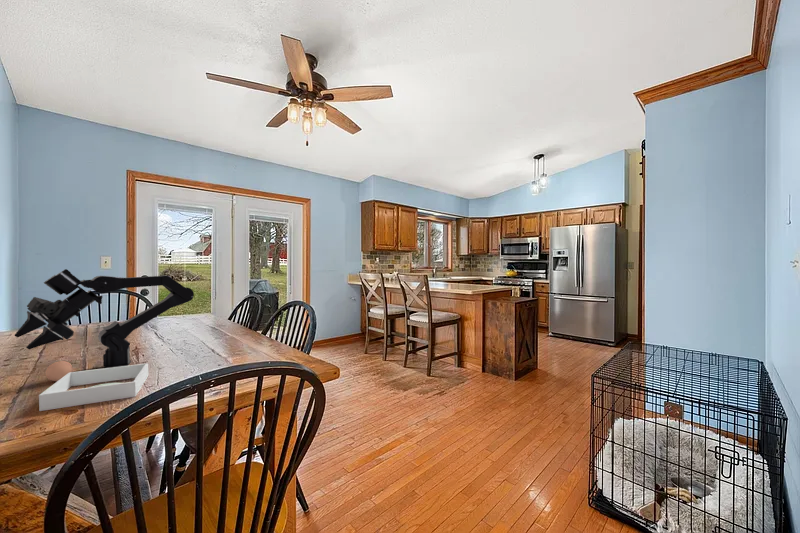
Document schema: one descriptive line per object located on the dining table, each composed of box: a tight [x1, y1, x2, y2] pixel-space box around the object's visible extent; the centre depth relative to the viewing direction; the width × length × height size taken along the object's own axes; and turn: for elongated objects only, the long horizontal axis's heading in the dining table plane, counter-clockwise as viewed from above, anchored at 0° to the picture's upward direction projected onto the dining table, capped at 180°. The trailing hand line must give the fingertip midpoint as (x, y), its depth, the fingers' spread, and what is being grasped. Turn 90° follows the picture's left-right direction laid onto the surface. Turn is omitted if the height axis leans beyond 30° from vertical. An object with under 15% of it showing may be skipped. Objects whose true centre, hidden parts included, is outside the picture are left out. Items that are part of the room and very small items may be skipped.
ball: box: [45, 360, 74, 382], centre depth 106 cm, size 6×6×6 cm
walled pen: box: [38, 362, 149, 412], centre depth 98 cm, size 19×19×4 cm
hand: (21, 342), depth 105 cm, fingers open, 9 cm apart
